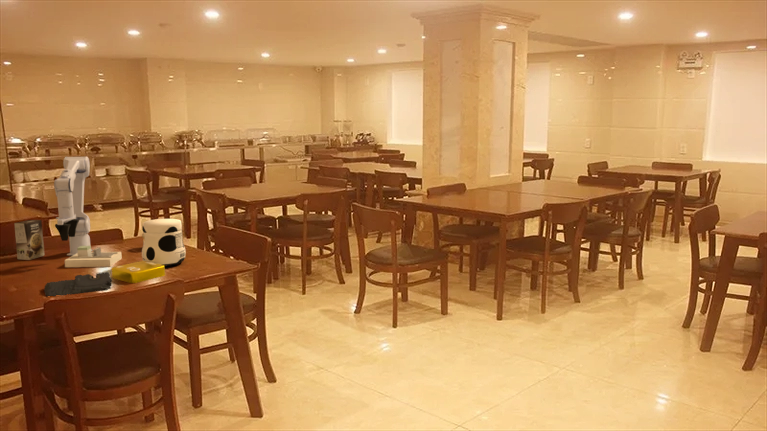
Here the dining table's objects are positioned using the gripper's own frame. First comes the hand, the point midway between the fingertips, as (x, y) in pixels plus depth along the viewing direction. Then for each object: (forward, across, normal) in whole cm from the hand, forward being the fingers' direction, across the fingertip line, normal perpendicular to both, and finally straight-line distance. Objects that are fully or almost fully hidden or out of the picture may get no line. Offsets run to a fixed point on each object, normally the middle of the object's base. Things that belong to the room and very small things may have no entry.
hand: (68, 238), depth 262 cm
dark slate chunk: (+11, +41, +18) cm, 46 cm away
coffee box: (+10, -10, -20) cm, 25 cm away
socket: (+10, +3, +10) cm, 14 cm away
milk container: (+10, +7, +40) cm, 42 cm away
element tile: (+11, +26, +35) cm, 45 cm away
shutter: (+7, +3, +15) cm, 17 cm away
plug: (+10, +2, +7) cm, 12 cm away
